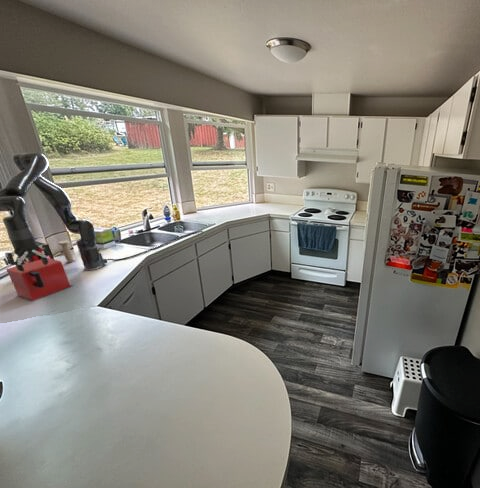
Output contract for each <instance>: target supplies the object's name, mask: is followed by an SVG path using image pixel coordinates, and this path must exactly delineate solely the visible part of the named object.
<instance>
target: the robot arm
mask: <svg viewBox="0 0 480 488" xmlns="http://www.w3.org/2000/svg"><path fill="white" fill-rule="evenodd" d="M12 161H13V163H14V165H15V166H16V167H17V169H18V170H19V171H20V172H18V173H16V174H15V175H13V176H11V177H10V178H9V179H8V181H7V182H6V184H5V185H4V187H3V188H2V189H0V212H12V215H8V216H4V217H3V218H2V222H3V225H4V227H5V229H6V232H7V236H8V239H9V241H10V243H11V245H12V248H13V250H14V251H11V252H5V253H4V255H5V257H6V261H7V264H8V265H10V266H15V267H17V269H18V270H19V271H22V272H23V271H24V268H23V266H22V264H21V263H22V261H23V260H24V259H25V258H29V257H31V256H35V255H38V256H41V257H42V258H41V260H42V262H43V264H44V265H47V263H48V260H47V256H49V255H51V253H50V251H49V249H48V247H47V245H45V244H46V243H44V244H41V245H40V246H37V243H36V242H37V240H36V238H35V236H34V233H33V231H32V229H31V227H30V225H29V222H28V220H27V203H26V200H25V199H24V198H25V197H26V195H27V194H28V192H29V191H30V188H31V186H32V185H33V186H34V187H35V188H36V189H37V190H38V191H39V193H40V194H41V196H42V197H43V198H44V199H45V201H46V202H47V203H48V204H49V205H50V206H51V208H52V209H53V210H54V211H55V213H56V215H58V217H59V218H60V220H61V221H62V223H63V225H64V226H65V228H66V229H67V230H68V231H69V232H70V233H72V234H75V235H79V236H80V238H79V239H77V240H76V241H75V243H76V247H77V249H78V252H79V256H80V259H81V261H82V265H83V267H84V270H85V271H95V270H98V269H101V268H103V267H104V266H106V265H105V264H108V261H114V262H115V261H122V260H126V259H131V258H133V257H136V256H139V255H142V254H145V253H148V252H150V251H152V250H155V249H157V248H159V247H162V246H164V245H167V244H168V243H171V242H173V241H176V240H178V239H181V238H183V237H187V236H190V235H194V234H197V233H201V232H203V230H198V231H195V232H191V233H188V234H187V233H186V234H184V235H180V236H178V237H175V238H173V239H170V240H168V241H166V242H164V243H162V244H159V245H160V246H159V245H157V246H158V247H157V246H154V247H155V248H154V247H152V248H153V249H152V248H150V249H147V250H148V251H147V250H144V251H141V252H139V253H136V254H133V255H130V256H126V257H123V258H117V259H116V258H114V259H113V258H104V257H103V255H102V252H100V250H99V248H98V247H97V244H96V235H95V230H94V225H93V223H92V221H90V220H88V219H78V217H77V216H75V214H74V213H73V211H72V200H71V198H70V197H69V195H68V194H67V193H66V191H65V190H64V189H63V188H61V187H60V186H59V185H56V184H55V183H53V182H51V181H50V180H48V179H46V178H45V177H43V176H42V174H43V173H44V172H45V171H46V170H47V169H48V168H49V160H48V159H47V157H46V156H45V155H44V154H43V153H41V152H35V151H34V152H21V153H14V154H13V155H12ZM40 248H41V249H43V251H44V253H45V254H42V253H40V252H38V251H39V249H40ZM15 255H16V259H14V257H15ZM17 255H18V256H17Z"/></svg>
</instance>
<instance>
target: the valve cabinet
mask: <svg viewBox="0 0 480 488" xmlns="http://www.w3.org/2000/svg"><path fill="white" fill-rule="evenodd" d="M47 260H48V263H47V265H50V264H53V263H57V262H61V261H60V260H57V259H54V260H53V259H49V258H47ZM47 265H44V264H43V262H42V260H37V261H34V262H30V263H27V264H23V265H22V266H23V268H24V271H23V272H27V271H30V270H33V269H37V268H40V267H43V266H47ZM5 270H6V272H7V274H8V276H9V278H10V280H11V283H12V285H13V288H14V289H15V291H16V294H17V296H18V297H21V298H24V299H26V300H27V299H28V300H30V301H33V300H32V299H31V297H30V295H29V293H28V290H27V288H26V286H25V284H24V281H23V279H22V277H21V275H20V273H23V272H22V271H19V270H18V269H17V267H16V266H13V267H9V268H5Z"/></svg>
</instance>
